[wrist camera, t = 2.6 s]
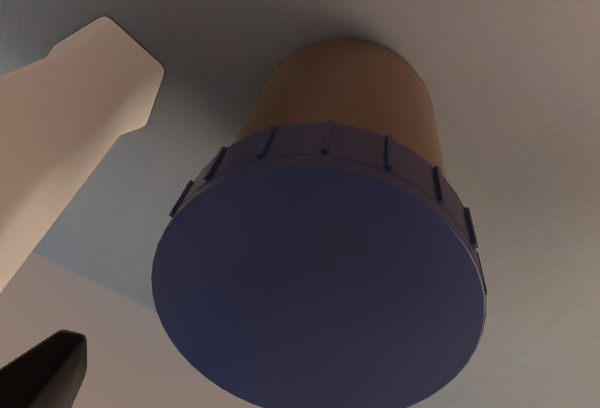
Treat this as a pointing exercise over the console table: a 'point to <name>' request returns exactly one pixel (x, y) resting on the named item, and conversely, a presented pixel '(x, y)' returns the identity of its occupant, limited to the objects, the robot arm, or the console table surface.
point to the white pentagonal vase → (65, 127)
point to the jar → (349, 95)
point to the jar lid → (321, 271)
